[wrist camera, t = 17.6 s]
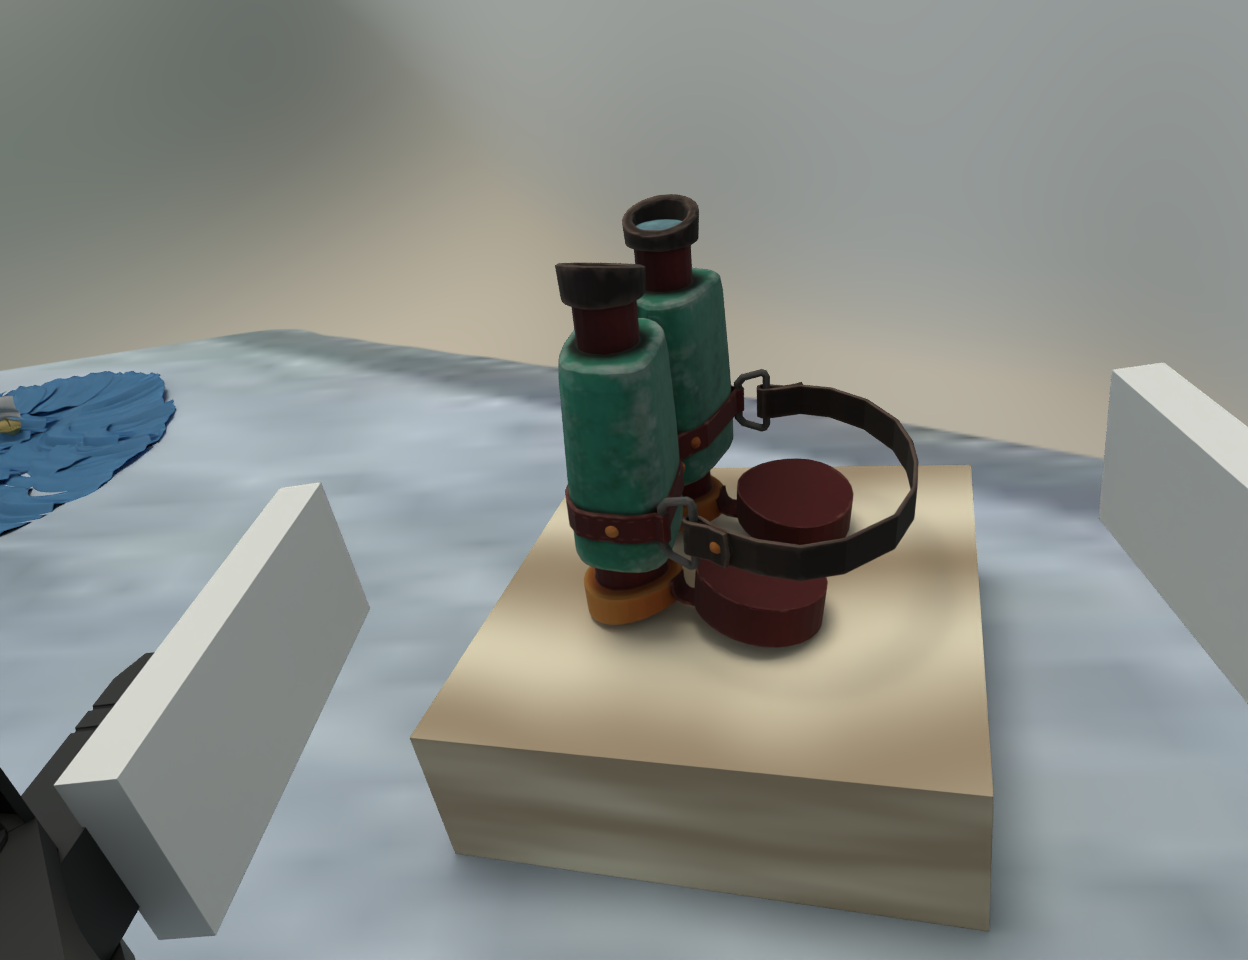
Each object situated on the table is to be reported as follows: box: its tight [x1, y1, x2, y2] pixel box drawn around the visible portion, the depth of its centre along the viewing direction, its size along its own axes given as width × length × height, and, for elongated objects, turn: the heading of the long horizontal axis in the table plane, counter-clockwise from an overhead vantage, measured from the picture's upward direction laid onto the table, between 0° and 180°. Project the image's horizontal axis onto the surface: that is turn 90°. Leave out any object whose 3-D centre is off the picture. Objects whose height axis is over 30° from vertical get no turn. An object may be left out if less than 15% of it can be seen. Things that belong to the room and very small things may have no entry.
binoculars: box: [555, 194, 918, 648], centre depth 25 cm, size 9×11×10 cm
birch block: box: [410, 465, 993, 931], centre depth 28 cm, size 14×14×5 cm
